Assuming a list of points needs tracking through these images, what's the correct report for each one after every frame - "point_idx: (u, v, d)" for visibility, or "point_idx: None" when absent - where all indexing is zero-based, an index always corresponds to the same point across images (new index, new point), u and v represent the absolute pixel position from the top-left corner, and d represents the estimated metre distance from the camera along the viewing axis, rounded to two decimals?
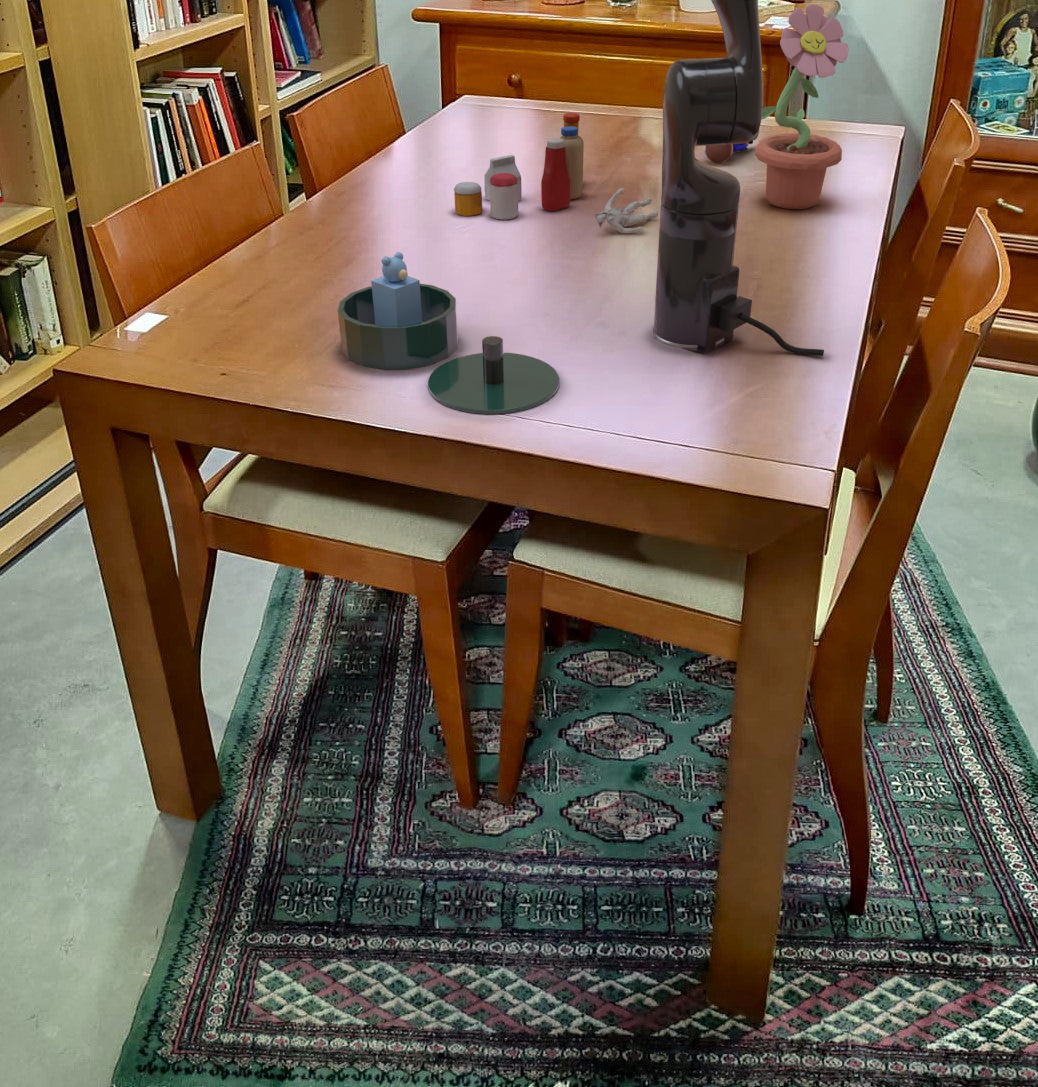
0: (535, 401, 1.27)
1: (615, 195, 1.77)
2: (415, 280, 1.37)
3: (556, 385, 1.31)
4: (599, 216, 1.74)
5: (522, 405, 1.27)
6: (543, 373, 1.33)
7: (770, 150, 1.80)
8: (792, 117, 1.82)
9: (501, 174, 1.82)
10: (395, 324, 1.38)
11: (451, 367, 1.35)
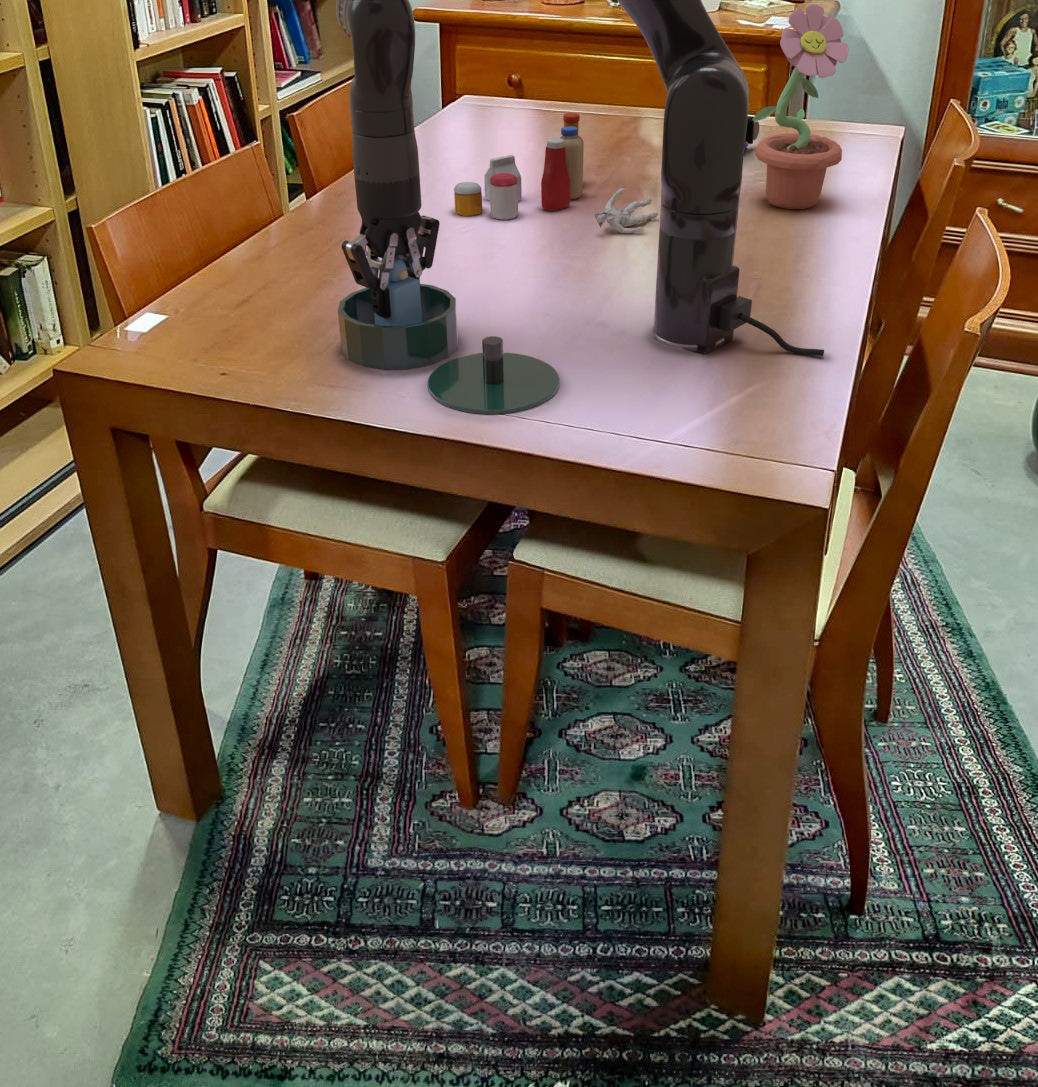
0: (535, 401, 1.27)
1: (615, 195, 1.77)
2: (415, 280, 1.37)
3: (556, 385, 1.31)
4: (599, 216, 1.74)
5: (522, 405, 1.27)
6: (543, 373, 1.33)
7: (770, 150, 1.80)
8: (792, 117, 1.82)
9: (501, 174, 1.82)
10: (395, 324, 1.38)
11: (451, 367, 1.35)
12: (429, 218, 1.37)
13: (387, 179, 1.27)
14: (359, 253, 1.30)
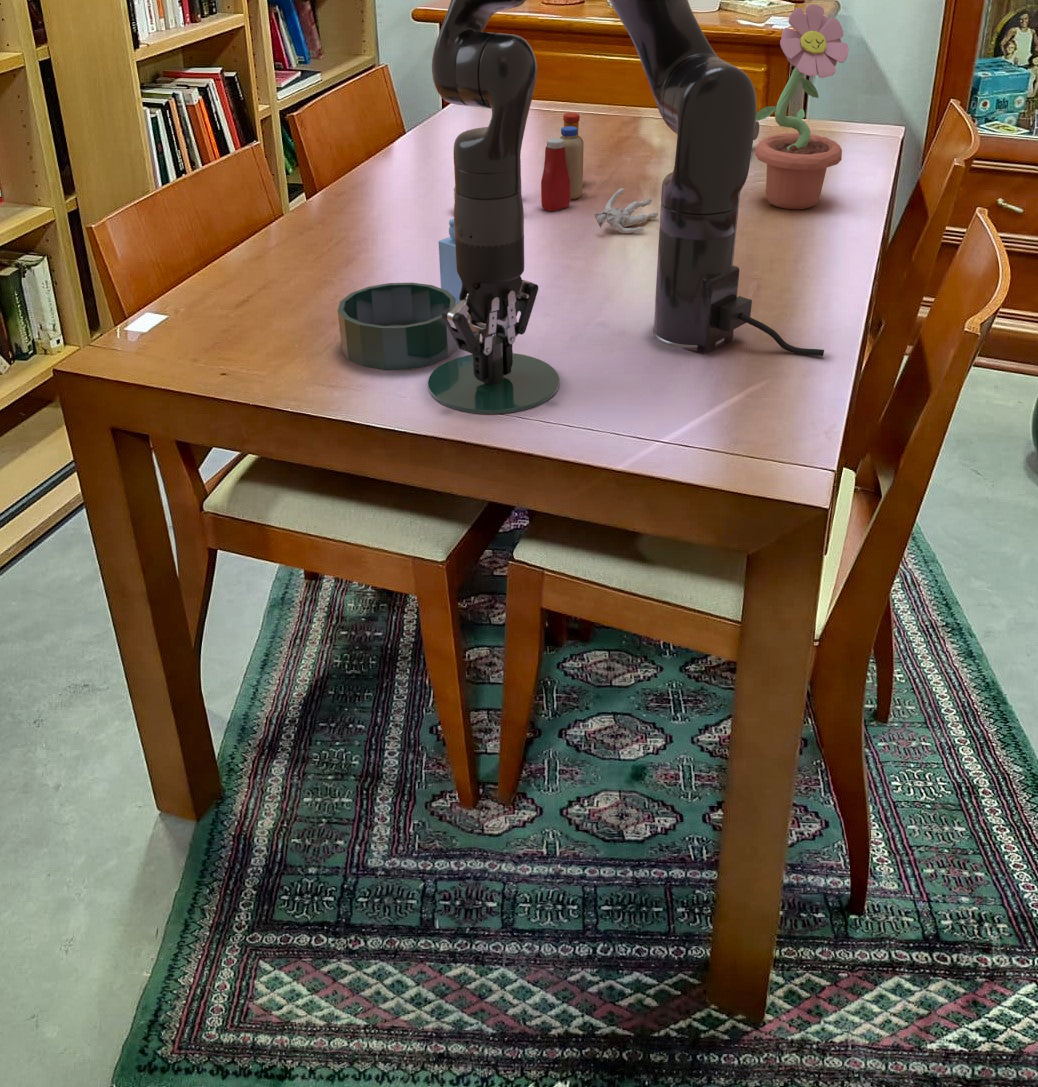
0: (535, 401, 1.27)
1: (615, 195, 1.77)
2: None
3: (556, 385, 1.31)
4: (599, 216, 1.74)
5: (522, 405, 1.27)
6: (543, 373, 1.33)
7: (770, 150, 1.80)
8: (792, 117, 1.82)
9: None
10: (460, 281, 1.50)
11: (451, 367, 1.35)
12: (528, 282, 1.30)
13: (492, 243, 1.19)
14: (462, 322, 1.23)
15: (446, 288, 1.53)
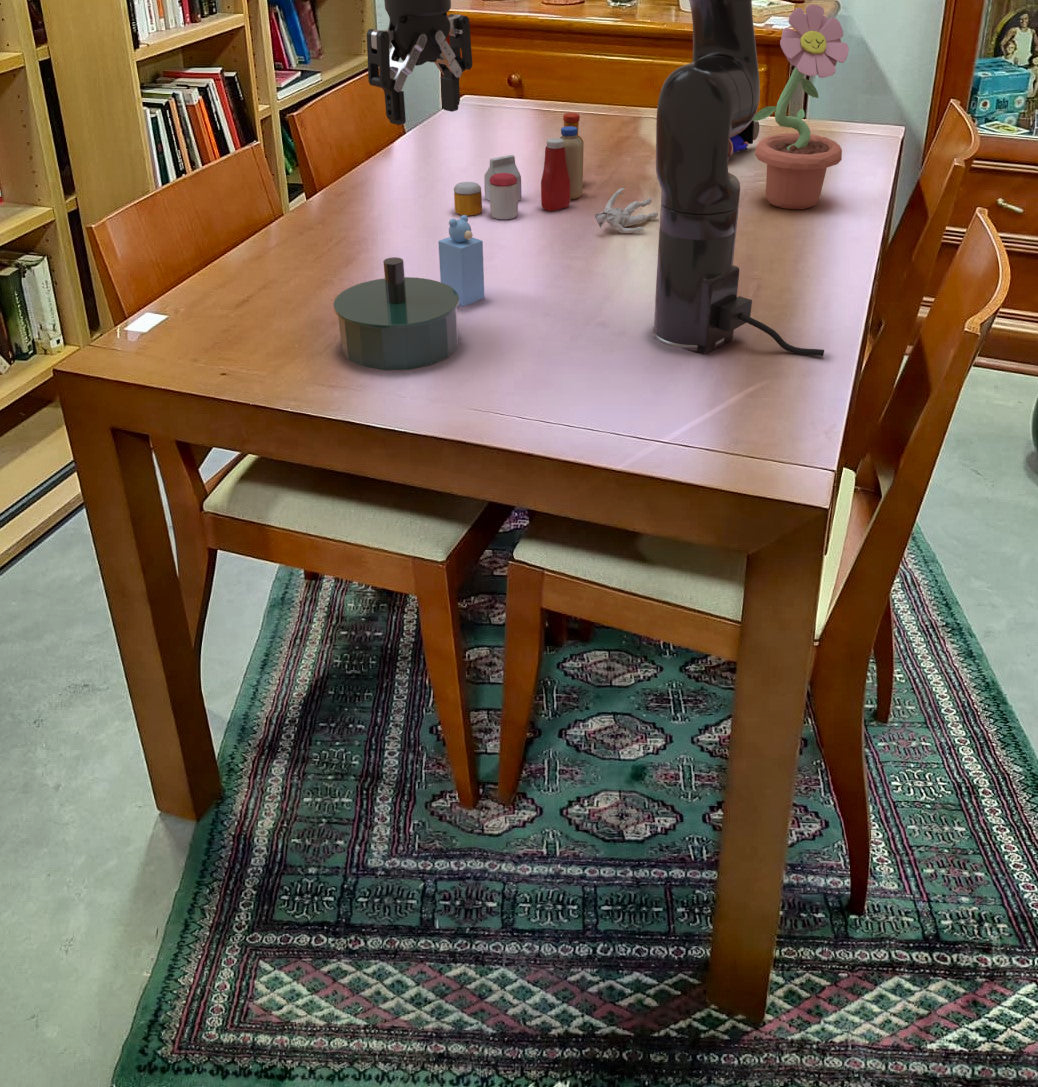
0: (433, 317, 1.34)
1: (615, 195, 1.77)
2: (479, 241, 1.50)
3: (455, 304, 1.37)
4: (599, 216, 1.74)
5: (419, 321, 1.33)
6: (444, 294, 1.40)
7: (770, 150, 1.80)
8: (792, 117, 1.82)
9: (501, 174, 1.82)
10: (460, 281, 1.50)
11: (358, 289, 1.42)
12: (457, 16, 1.32)
13: None
14: (384, 40, 1.25)
15: None
